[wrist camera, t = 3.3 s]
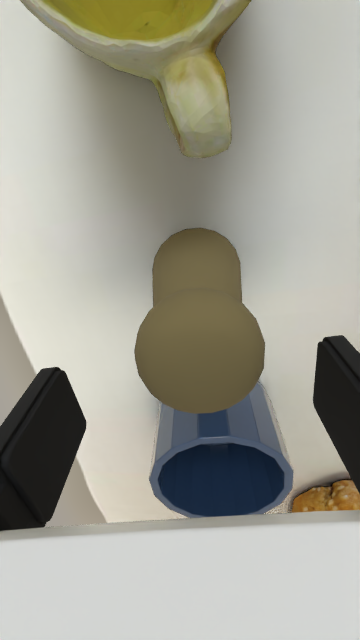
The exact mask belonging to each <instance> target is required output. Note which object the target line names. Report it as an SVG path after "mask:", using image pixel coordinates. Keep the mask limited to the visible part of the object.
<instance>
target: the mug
mask: <svg viewBox="0 0 360 640" xmlns="http://www.w3.org/2000/svg"><path fill="white" fill-rule="evenodd" d="M20 1H21V2H22V3H23V4H24V5H25V7H26V8H27V9H28V10H29V11H30V12H31V13H32V14H34V15H35V16H36V17H37V18H38V19H39V20H40V21H41V22H42V23H44V24H45V25H46V26H47V27H48V28H50V29H51V30H52V31H54V32H55V33H57V34H58V35H59V36H61V37H62V38H63V39H65V40H66V41H67V42H69V43H70V44H72V45H73V46H74V47H76V48H77V49H79V50H80V51H82V52H83V53H85V54H87V55H89V56H91V57H93V58H95V59H97V60H100V61H102V62H103V63H105V64H107V65H108V66H110V67H112V68H114V69H116V70H119V71H123V72H127V73H130V74H133V75H136V76H139V77H142V78H147V79H149V80H150V81H152V82H153V84H154V85H155V87H156V89H157V90H158V94H159V97H160V100H161V103H162V105H163V109H164V113H165V117H166V120H167V123H168V125H169V128H170V130H171V132H172V133H173V135H174V136H175V138H176V140H177V143H178V146H179V148H180V151H181V153H182V154H183V155H185V156H187V157H196V158H206V157H211V156H214V155H216V154H218V153H221V152H223V151H225V150H228V148H229V145H230V144H231V119H230V106H229V95H228V90H227V85H226V77H225V72H224V70H223V67H222V66H221V64H220V62H219V61H218V59H217V57H216V53H215V52H216V47H217V45H218V43H219V42H220V40H221V38H222V37H223V35H224V34H225V33H226V31H227V30H228V29H229V28H230V26H231V25H232V24H233V23H234V22H235V20H236V19H237V18H238V17H239V16H240V14H241V13H242V12H243V11H244V10H245V8H246V7H247V6H248V4H249V3H250V2H251V0H20Z"/></svg>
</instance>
